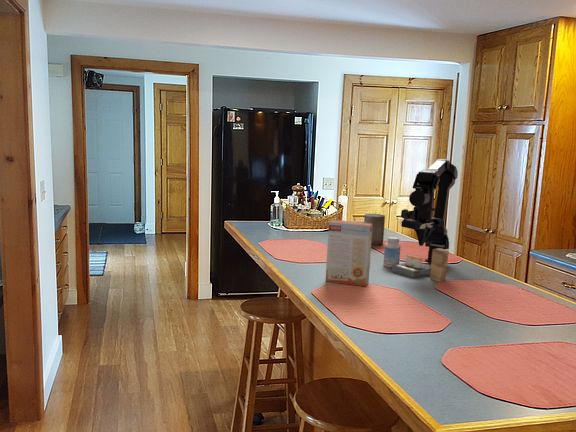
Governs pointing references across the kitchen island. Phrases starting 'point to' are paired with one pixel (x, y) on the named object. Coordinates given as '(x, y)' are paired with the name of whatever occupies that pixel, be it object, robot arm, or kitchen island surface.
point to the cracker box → (349, 252)
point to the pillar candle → (376, 227)
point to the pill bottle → (392, 252)
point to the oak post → (439, 264)
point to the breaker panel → (411, 270)
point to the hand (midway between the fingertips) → (420, 245)
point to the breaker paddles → (413, 261)
